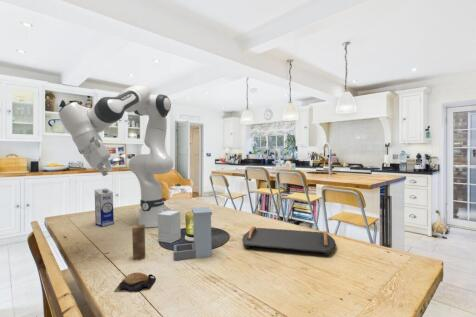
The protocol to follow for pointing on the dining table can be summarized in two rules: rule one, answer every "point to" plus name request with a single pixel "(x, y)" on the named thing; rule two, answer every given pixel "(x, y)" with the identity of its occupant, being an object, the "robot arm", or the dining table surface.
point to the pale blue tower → (197, 237)
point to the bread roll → (136, 283)
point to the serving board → (289, 240)
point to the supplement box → (169, 226)
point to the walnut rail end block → (138, 242)
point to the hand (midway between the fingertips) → (108, 173)
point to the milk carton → (104, 207)
